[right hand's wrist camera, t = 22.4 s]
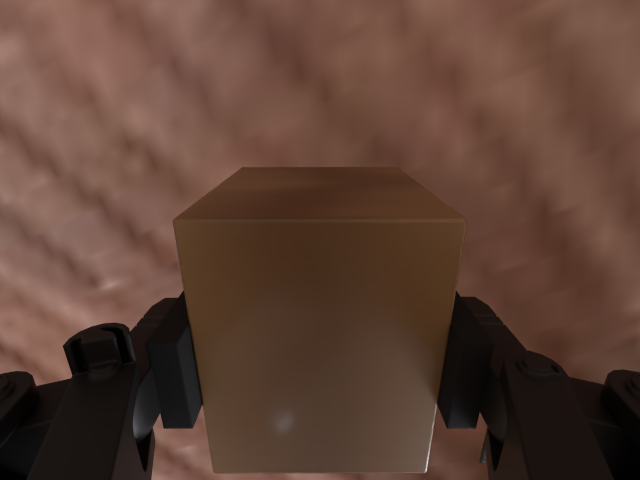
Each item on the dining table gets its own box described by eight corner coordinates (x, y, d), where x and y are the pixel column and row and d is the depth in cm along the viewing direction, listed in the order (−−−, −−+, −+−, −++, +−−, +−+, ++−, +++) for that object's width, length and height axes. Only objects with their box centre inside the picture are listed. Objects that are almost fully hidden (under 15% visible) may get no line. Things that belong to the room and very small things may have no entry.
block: (398, 166, 14) (469, 218, 8) (384, 330, 17) (427, 474, 10) (241, 167, 14) (170, 219, 8) (254, 330, 17) (212, 475, 10)
